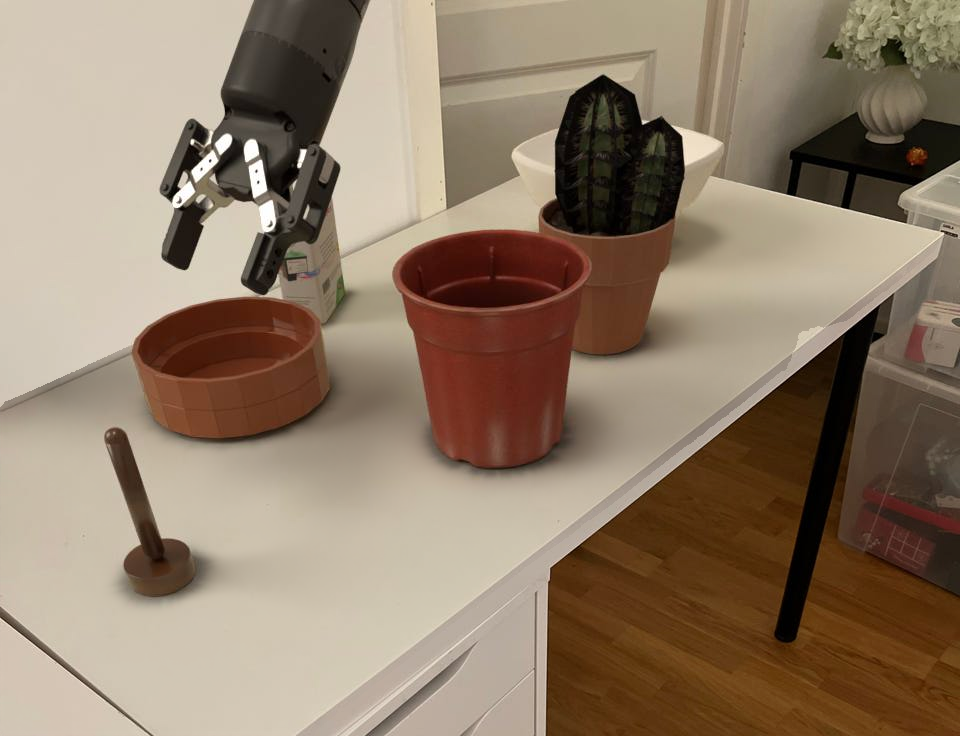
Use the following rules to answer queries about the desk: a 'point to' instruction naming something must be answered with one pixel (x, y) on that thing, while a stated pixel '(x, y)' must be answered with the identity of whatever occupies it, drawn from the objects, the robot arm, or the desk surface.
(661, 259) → the potted plant
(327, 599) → the desk surface
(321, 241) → the ink box
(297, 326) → the shallow terracotta planter
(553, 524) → the desk surface
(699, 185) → the bowl
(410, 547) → the desk surface
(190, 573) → the brown peg stand
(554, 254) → the flower pot
